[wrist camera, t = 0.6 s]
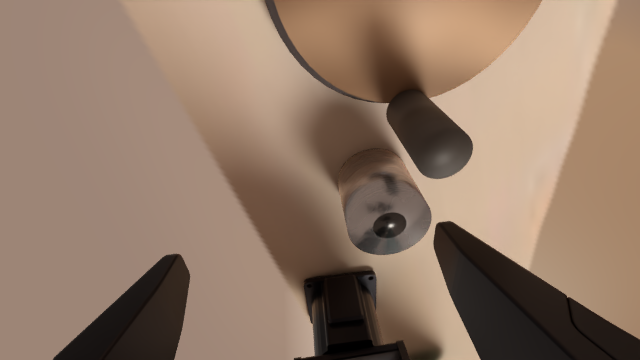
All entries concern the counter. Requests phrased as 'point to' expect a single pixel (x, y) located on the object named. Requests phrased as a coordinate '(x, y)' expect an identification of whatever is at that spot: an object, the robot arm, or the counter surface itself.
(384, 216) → the cover
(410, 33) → the turntable
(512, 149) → the counter surface
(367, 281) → the robot arm
